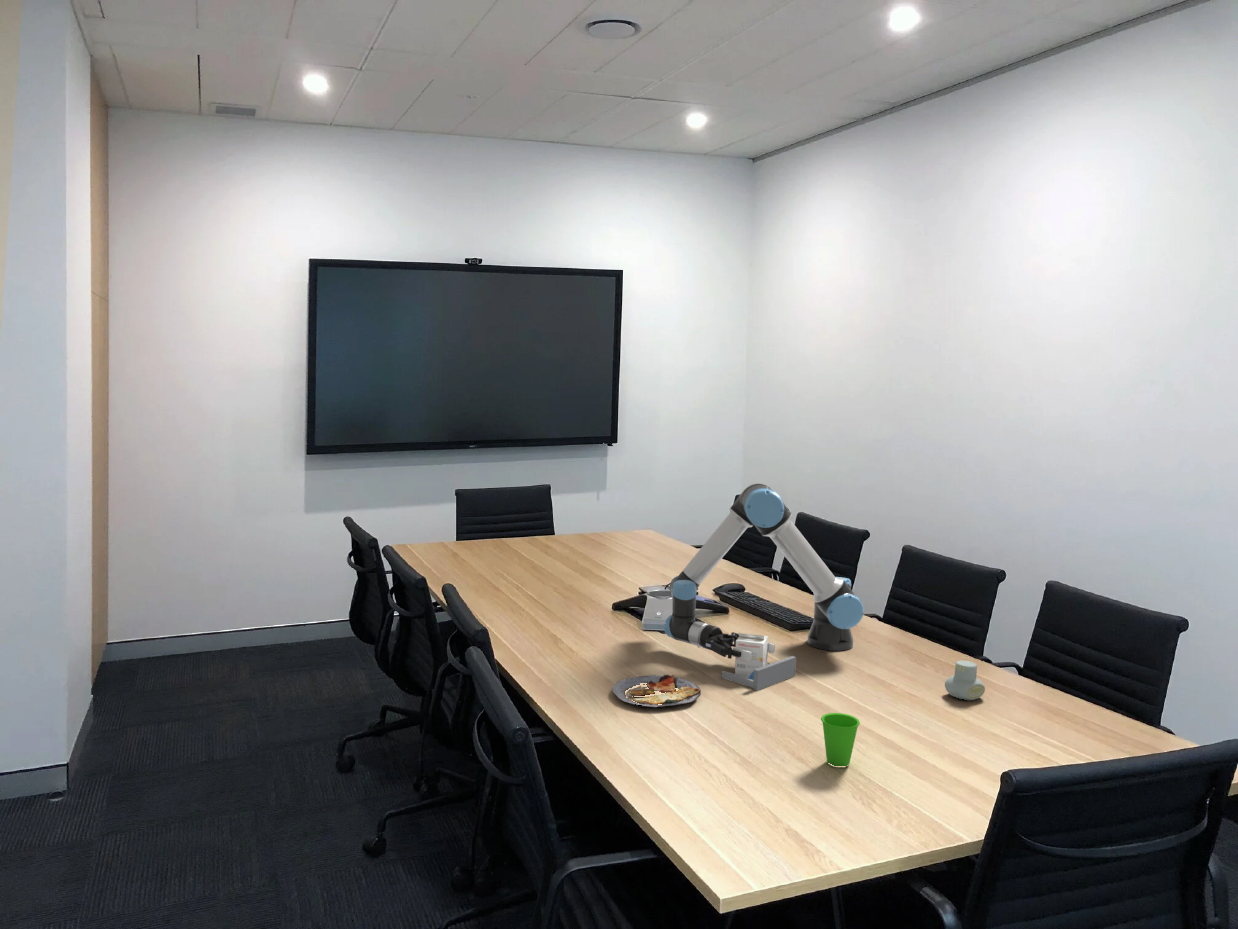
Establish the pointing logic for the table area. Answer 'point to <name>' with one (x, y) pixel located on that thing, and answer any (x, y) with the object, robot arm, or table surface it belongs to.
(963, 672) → the air freshener
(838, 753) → the cup
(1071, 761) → the table surface
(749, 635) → the ink box
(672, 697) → the food plate
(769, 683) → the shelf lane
